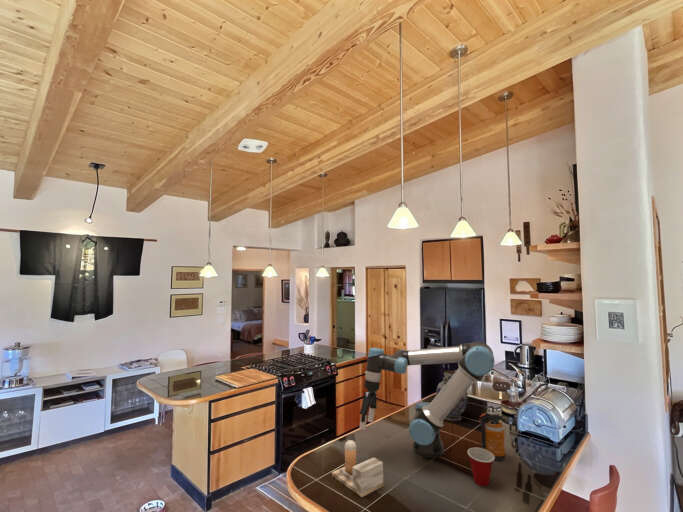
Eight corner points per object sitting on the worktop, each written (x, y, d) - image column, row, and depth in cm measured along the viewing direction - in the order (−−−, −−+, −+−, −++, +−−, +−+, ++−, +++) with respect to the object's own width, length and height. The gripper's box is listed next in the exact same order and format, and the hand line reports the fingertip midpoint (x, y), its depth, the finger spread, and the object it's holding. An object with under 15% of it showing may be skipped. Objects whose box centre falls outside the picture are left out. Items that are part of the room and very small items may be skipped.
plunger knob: (342, 472, 155) (342, 440, 156) (351, 468, 158) (351, 436, 159) (350, 477, 151) (349, 444, 152) (359, 473, 154) (358, 441, 155)
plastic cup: (488, 493, 141) (487, 462, 142) (463, 482, 149) (462, 453, 150) (500, 482, 148) (499, 453, 149) (476, 472, 156) (475, 444, 157)
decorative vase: (443, 409, 231) (442, 365, 233) (472, 415, 220) (471, 370, 222) (431, 420, 214) (430, 373, 215) (462, 427, 203) (461, 378, 204)
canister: (507, 462, 164) (506, 418, 166) (482, 460, 166) (481, 416, 168) (503, 453, 173) (501, 411, 174) (479, 451, 175) (477, 409, 177)
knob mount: (331, 475, 155) (331, 453, 156) (352, 466, 163) (352, 445, 163) (361, 497, 140) (361, 472, 140) (383, 485, 147) (382, 462, 148)
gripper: (372, 375, 187) (366, 417, 183) (357, 382, 164) (350, 429, 161) (385, 378, 184) (380, 421, 181) (372, 385, 161) (366, 434, 158)
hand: (366, 425), depth 171 cm, fingers open, 13 cm apart
